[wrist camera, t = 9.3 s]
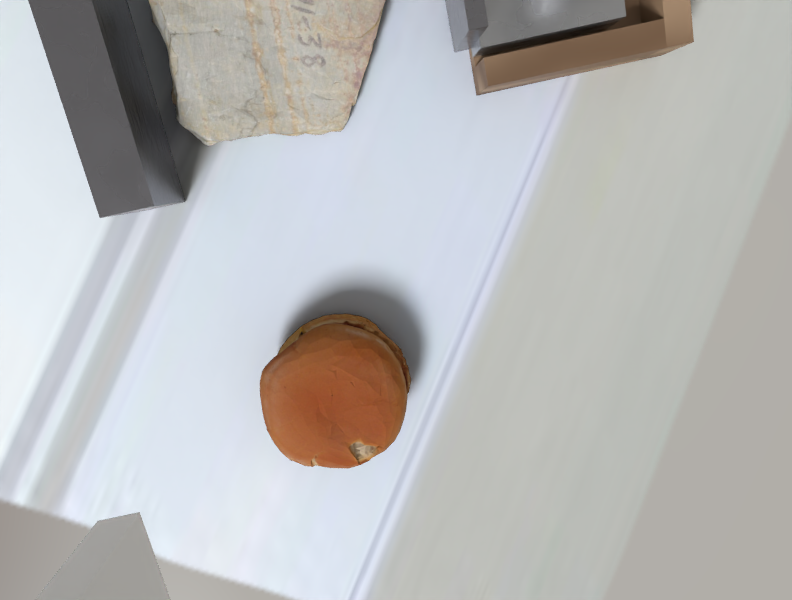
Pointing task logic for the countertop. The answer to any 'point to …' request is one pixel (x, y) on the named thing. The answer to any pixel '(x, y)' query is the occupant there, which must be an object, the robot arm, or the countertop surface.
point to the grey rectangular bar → (108, 103)
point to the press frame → (590, 47)
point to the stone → (266, 63)
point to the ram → (525, 21)
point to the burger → (335, 392)
